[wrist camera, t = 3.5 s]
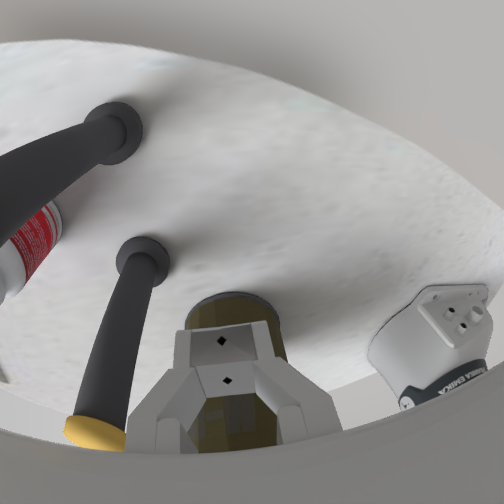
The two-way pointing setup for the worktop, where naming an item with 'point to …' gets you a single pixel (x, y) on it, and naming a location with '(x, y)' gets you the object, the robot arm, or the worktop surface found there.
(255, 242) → the worktop surface
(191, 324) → the canister
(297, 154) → the worktop surface
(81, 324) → the worktop surface
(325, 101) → the worktop surface
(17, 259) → the pill bottle
